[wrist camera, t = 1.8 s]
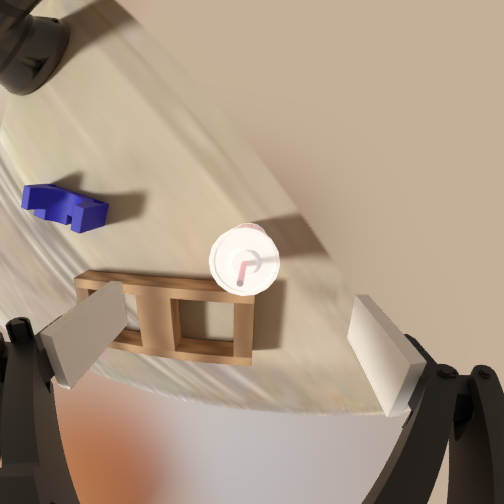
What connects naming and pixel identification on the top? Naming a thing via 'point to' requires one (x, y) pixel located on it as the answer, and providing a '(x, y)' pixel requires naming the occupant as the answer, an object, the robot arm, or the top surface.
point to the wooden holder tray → (175, 317)
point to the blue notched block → (64, 207)
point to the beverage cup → (244, 260)
